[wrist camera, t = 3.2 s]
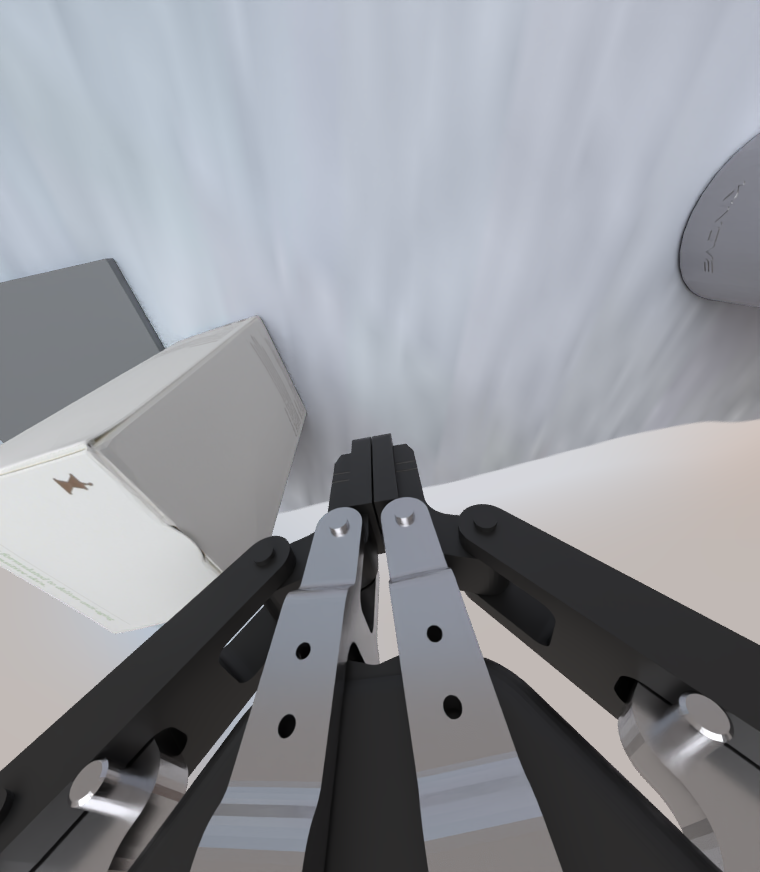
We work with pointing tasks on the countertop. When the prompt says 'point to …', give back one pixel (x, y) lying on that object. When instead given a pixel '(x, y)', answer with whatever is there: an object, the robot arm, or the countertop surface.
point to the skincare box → (153, 478)
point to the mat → (66, 340)
